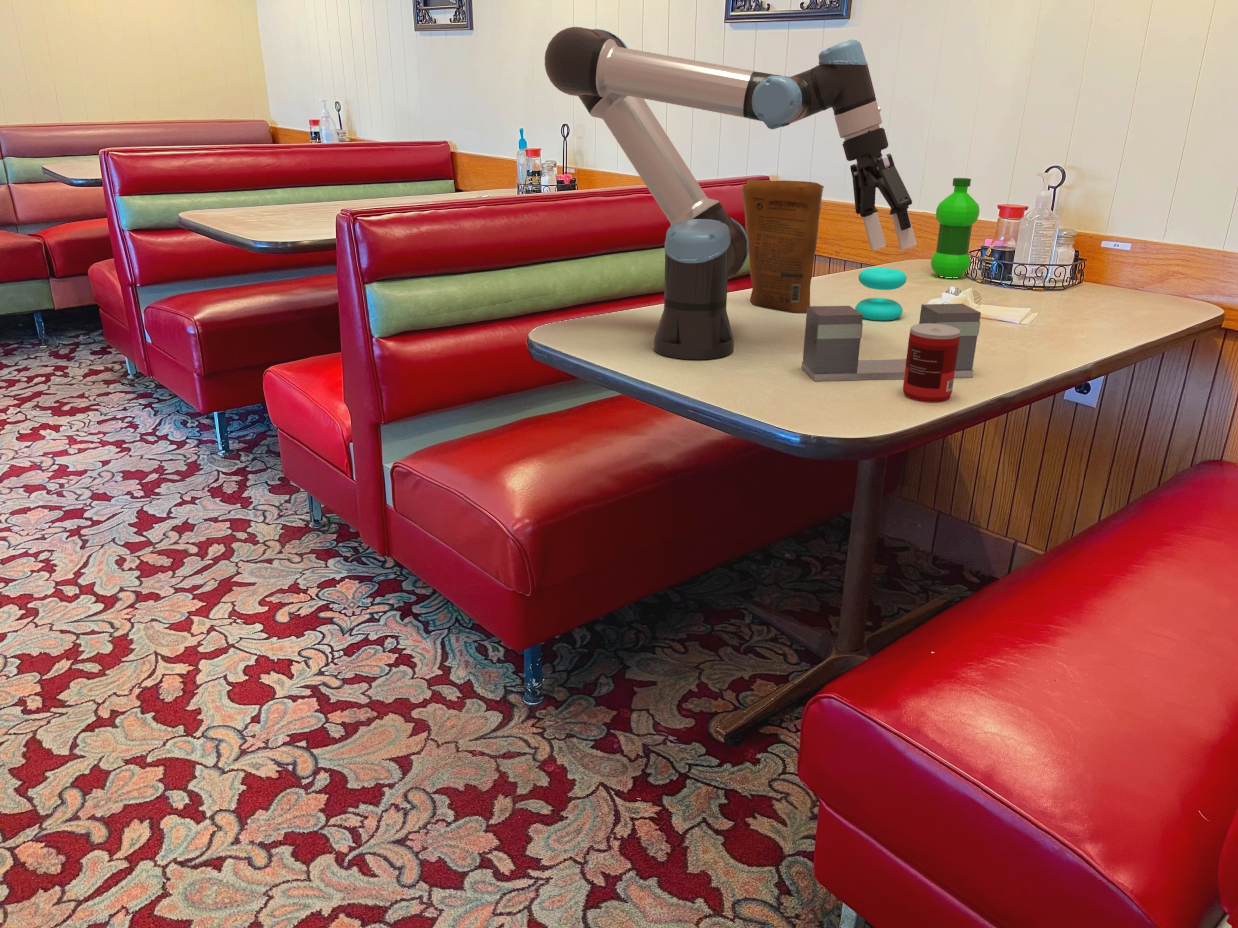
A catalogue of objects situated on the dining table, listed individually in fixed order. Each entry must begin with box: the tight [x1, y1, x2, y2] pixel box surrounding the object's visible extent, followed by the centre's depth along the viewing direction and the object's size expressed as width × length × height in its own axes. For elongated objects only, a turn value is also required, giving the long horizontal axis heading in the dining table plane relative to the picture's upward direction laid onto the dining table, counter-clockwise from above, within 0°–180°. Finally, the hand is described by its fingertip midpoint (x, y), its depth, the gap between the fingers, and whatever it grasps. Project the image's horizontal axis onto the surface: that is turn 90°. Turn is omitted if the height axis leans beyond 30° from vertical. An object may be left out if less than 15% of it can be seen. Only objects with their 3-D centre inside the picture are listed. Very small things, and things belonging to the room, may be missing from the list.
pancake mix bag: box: [741, 179, 824, 314], centre depth 205 cm, size 7×19×28 cm, turn 46°
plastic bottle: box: [930, 177, 980, 278], centre depth 241 cm, size 10×10×25 cm
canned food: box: [902, 323, 960, 403], centre depth 149 cm, size 8×8×11 cm
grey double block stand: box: [801, 303, 982, 382], centre depth 160 cm, size 28×8×11 cm, turn 96°
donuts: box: [854, 267, 907, 322], centre depth 201 cm, size 10×10×10 cm
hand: (893, 248), depth 170 cm, fingers open, 13 cm apart
